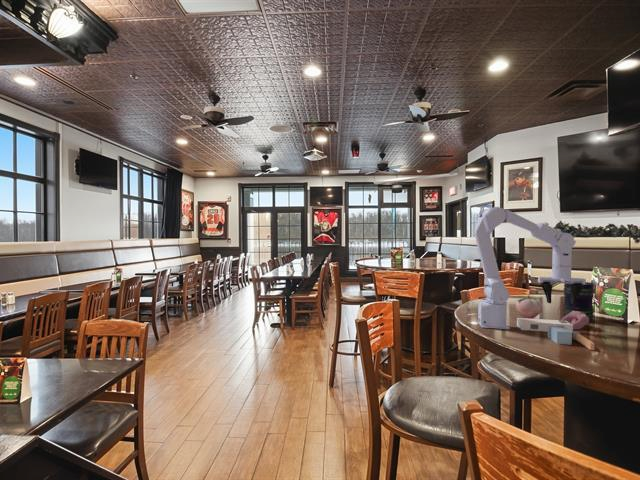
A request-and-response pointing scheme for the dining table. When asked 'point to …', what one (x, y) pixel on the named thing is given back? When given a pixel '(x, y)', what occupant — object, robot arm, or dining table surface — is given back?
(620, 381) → the dining table surface
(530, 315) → the decorative fruit
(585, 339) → the wooden block bar
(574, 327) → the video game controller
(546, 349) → the dining table surface
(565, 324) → the power strip
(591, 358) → the dining table surface
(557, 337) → the plug
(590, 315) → the storage jar
